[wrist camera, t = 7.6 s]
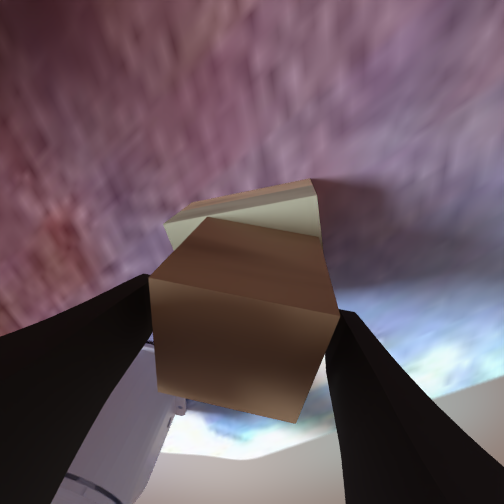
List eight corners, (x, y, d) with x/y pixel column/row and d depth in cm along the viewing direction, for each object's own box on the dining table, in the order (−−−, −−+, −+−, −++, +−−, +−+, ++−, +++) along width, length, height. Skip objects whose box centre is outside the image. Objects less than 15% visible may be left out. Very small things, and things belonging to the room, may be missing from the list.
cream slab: (322, 282, 16) (331, 325, 12) (224, 293, 18) (208, 334, 14) (309, 177, 13) (316, 195, 10) (193, 201, 15) (163, 224, 11)
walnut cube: (293, 321, 13) (295, 423, 8) (202, 302, 13) (157, 392, 9) (318, 236, 10) (340, 316, 6) (207, 216, 11) (148, 277, 6)
